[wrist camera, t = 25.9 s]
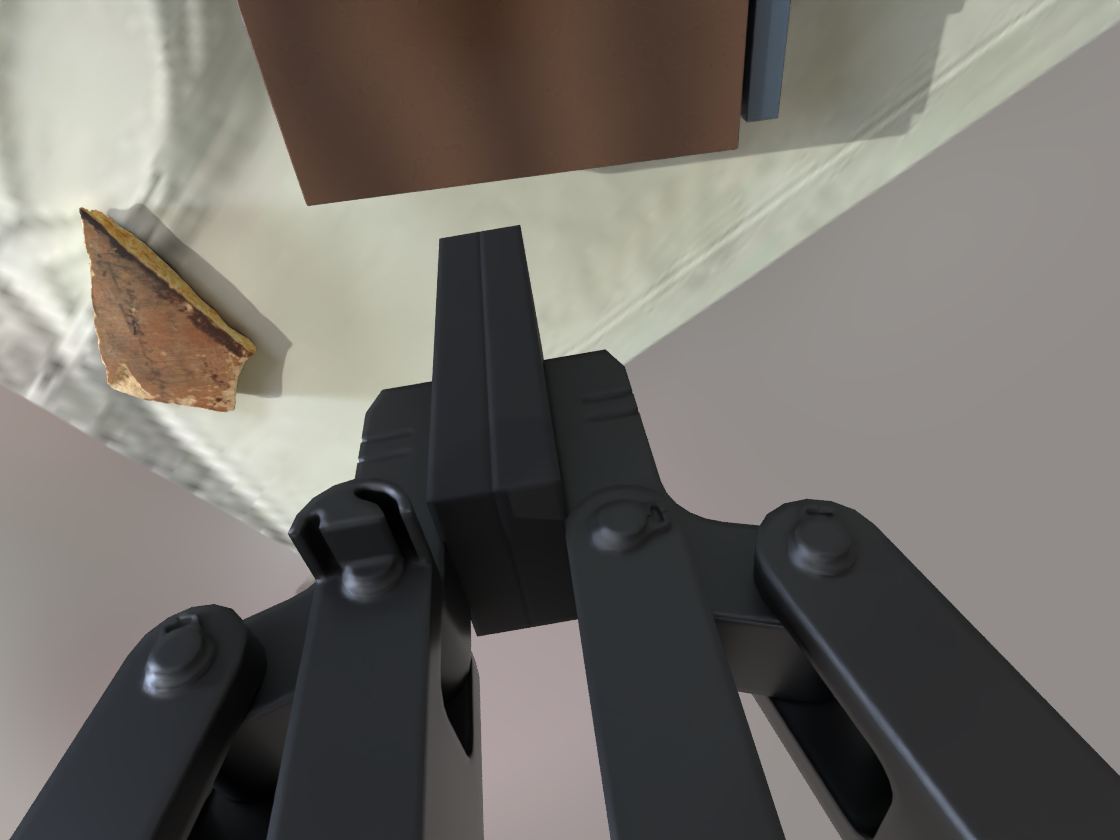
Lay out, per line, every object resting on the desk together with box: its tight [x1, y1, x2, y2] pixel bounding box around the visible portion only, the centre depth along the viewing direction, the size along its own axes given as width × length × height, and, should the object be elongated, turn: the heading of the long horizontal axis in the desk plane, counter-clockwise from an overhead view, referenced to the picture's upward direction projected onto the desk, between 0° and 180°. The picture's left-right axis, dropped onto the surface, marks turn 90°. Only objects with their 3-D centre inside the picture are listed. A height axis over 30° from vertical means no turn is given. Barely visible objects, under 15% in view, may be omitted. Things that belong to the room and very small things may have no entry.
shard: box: [79, 208, 256, 412], centre depth 36 cm, size 11×8×2 cm
